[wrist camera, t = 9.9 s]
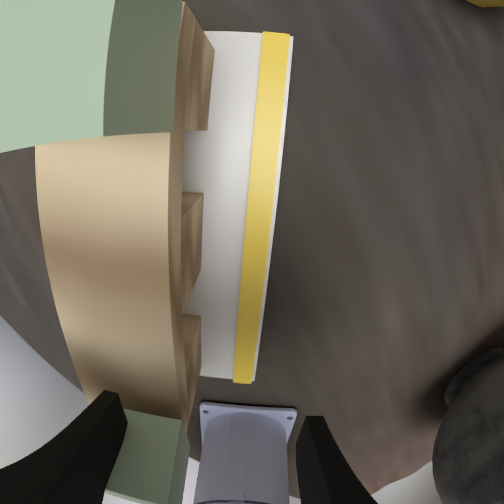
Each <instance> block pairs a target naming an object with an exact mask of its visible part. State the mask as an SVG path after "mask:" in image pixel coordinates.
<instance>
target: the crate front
mask: <svg viewBox="0 0 504 504" xmlns="http://www.w3.org/2000/svg"><path fill="white" fill-rule="evenodd" d="M182 6H183V3H182V2H181V0H0V153H2V152H6V151H11V150H16V149H21V148H26V147H32V146H37V145H43V144H49V143H56V142H62V141H70V140H77V139H86V138H94V137H104V136H115V135H128V134H144V133H166V132H174V106H175V86H176V70H177V56H178V44H179V34H180V24H181V15H182Z"/></svg>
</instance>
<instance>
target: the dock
mask: <svg viewBox="0 0 504 504" xmlns="http://www.w3.org/2000/svg"><path fill="white" fill-rule="evenodd" d="M204 33H205V35H206V36H207V38H208V40H209V41H210V43H211V45H212V46H213V48H214V50H215V55H214V64H213V74H212V84H211V95H210V106H209V118H208V131H201V130H185V132H184V149H183V169H182V192H197V193H204V200H203V225H202V262H201V271H200V273H199V276H198V278H197V281H196V283H195V286H194V288H193V290H192V293H191V295H190V298H189V300H188V303H187V306H186V308H185V311H184V313H183V314H188V315H197V316H201V359H202V367H201V371H200V376H208V377H216V378H225V379H233V383H245V384H251V382H252V381H255V374H256V366H257V359H258V352H259V345H260V337H261V330H262V322H263V314H264V307H265V299H266V291H267V283H268V275H269V267H270V259H271V251H272V242H273V234H274V225H275V216H276V208H277V199H278V190H279V181H280V172H281V162H282V153H283V143H284V133H285V123H286V113H287V103H288V92H289V82H290V71H291V60H292V48H293V36H290V34H284V33H275V32H264V31H263V33H251V32H228V31H204Z"/></svg>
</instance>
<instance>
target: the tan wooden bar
mask: <svg viewBox="0 0 504 504" xmlns="http://www.w3.org/2000/svg"><path fill="white" fill-rule="evenodd" d="M182 3H183V6H182V15H181V24H180V34H179V44H178V56H177V70H176V86H175V106H174V132H166V133H144V134H128V135H115V136H104V137H94V138H86V139H77V140H70V141H62V142H56V143H49V144H43V145H37V146H35V165H36V186H37V199H38V209H39V219H40V227H41V234H42V241H43V247H44V253H45V259H46V264H47V270H48V275H49V279H50V284H51V288H52V293H53V297H54V301H55V305H56V309H57V313H58V316H59V320H60V324H61V327H62V330H63V334H64V337H65V340H66V343H67V346H68V350H69V353H70V355H71V358H72V361H73V364H74V367H75V370H76V372H77V375H78V378H79V380H80V383H81V385H82V388H83V390H84V393H85V395H86V397H87V400H88V402H89V405H90V404H91V403H92V402H93V401H94V400H95V399H96V397H97V396H98V395H99V394H100V393H101V392H102V391H104V390H108V391H111V392H115V393H118V394H119V397H120V400H121V403H122V406H123V408H124V409H128V410H133V411H137V412H142V413H146V414H151V415H156V416H161V417H166V418H172V419H178V420H182V423H183V426H184V429H185V432H186V434H187V429H188V424H189V420H190V415H191V411H192V406H193V402H194V397H195V393H196V388H197V384H198V380H199V375H200V371H201V367H202V359H201V316H197V315H188V314H183V313H184V311H185V308H186V306H187V303H188V300H189V298H190V295H191V293H192V290H193V288H194V286H195V283H196V281H197V278H198V276H199V273H200V271H201V262H202V225H203V200H204V193H197V192H182V169H183V149H184V132H185V130H201V131H208V118H209V106H210V95H211V84H212V74H213V64H214V55H215V50H214V48H213V46H212V45H211V43H210V41H209V40H208V38H207V36H206V35H205V33H204V31H203V30H202V28H201V27H200V25H199V23H198V22H197V20H196V18H195V17H194V15H193V14H192V12H191V10H190V9H189V7H188V6H187V4H186V3H185V2H182Z"/></svg>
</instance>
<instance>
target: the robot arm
mask: <svg viewBox="0 0 504 504" xmlns="http://www.w3.org/2000/svg"><path fill="white" fill-rule="evenodd" d="M296 416H297V410H296V409H294V408H272V407H255V406H242V405H231V404H221V403H212V402H202V403H201V404H200V422H201V438H202V453H201V459H200V465H199V472H198V477H197V484H196V490H195V496H194V503H193V504H289V483H288V463H287V442H288V439H289V437H290V434H291V431H292V428H293V425H294V422H295V419H296ZM127 425H128V421H127V418H126V415H125V412H124V409H123V406H122V403H121V400H120V397H119V394H118V393H115V392H111V391H108V390H104V391H102V392H101V393H100V394H99V395H98V396H97V397H96V399H95V400H94V401H93V402H92V403H91V404H90V405H89V406H88V407H87V408H86V409H85V410H84V411H83V412H82V413H81V414H80V415H79V416H78V417H76V418H75V419H74V420H73V421H72V422H71V423H70V424H69V425H68V426H67V427H66V428H65V429H64V430H62V431H61V432H60V433H59V434H58V435H56V436H55V437H54V438H53V439H52V440H50V441H49V442H48V443H46V444H45V445H43V446H42V447H41V448H39V449H38V450H36V451H35V452H33V453H31V454H30V455H28V456H26V457H25V458H23V459H21V460H19V461H17V462H15V463H13V464H11V465H9V466H6V467H4V468H2V469H0V504H102V501H103V496H104V492H105V489H106V486H107V483H108V480H109V478H110V475H111V472H112V470H113V467H114V465H115V462H116V460H117V457H118V455H119V452H120V449H121V447H122V444H123V441H124V437H125V433H126V429H127ZM296 468H297V475H298V483H299V491H300V498H301V504H378V503H377V502H376V501H375V500H374V499H373V497H372V496H371V495H370V494H369V493H368V491H367V490H366V489H365V488H364V486H363V485H362V484H361V482H360V481H359V479H358V478H357V477H356V475H355V474H354V472H353V471H352V469H351V468H350V466H349V464H348V463H347V461H346V459H345V458H344V456H343V454H342V453H341V451H340V449H339V447H338V445H337V444H336V442H335V440H334V438H333V436H332V434H331V432H330V430H329V428H328V425H327V423H326V421H325V419H324V417H323V416H306V418H305V421H304V424H303V426H302V429H301V432H300V434H299V437H298V439H297V442H296Z"/></svg>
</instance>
